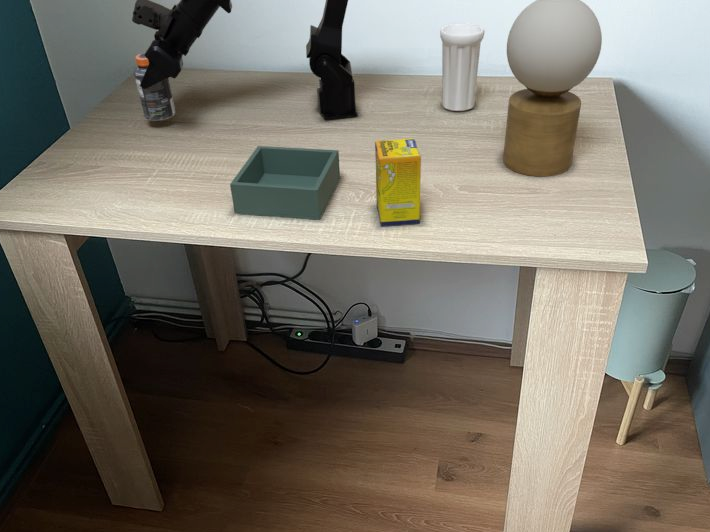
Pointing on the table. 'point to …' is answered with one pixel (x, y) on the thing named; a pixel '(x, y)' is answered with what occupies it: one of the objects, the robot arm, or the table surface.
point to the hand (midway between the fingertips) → (145, 81)
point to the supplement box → (398, 181)
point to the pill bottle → (154, 94)
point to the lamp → (548, 83)
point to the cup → (460, 64)
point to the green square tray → (286, 182)
